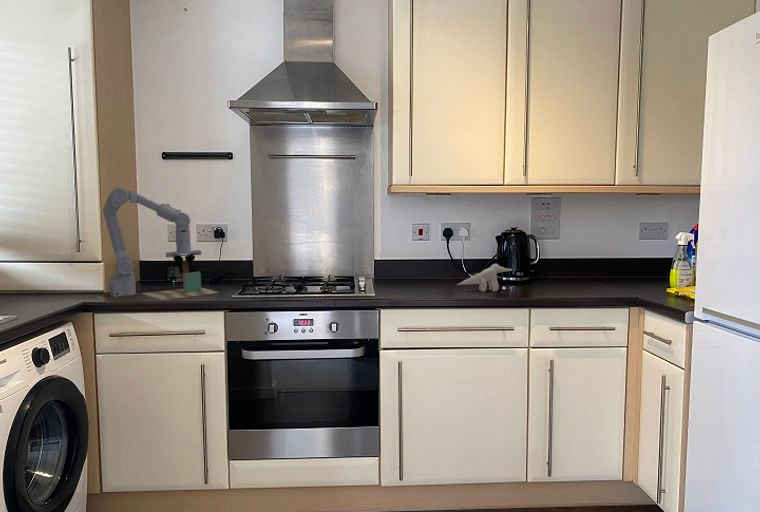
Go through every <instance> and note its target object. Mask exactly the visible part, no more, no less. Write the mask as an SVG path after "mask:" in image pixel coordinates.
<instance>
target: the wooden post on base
mask: <svg viewBox="0 0 760 512" xmlns="http://www.w3.org/2000/svg"><path fill="white" fill-rule="evenodd" d="M183 273H189V266H188V261H186V260H183ZM183 273H182V274H181V273H180V277H179V278H175V281H176V282H179V283H183Z"/></svg>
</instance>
